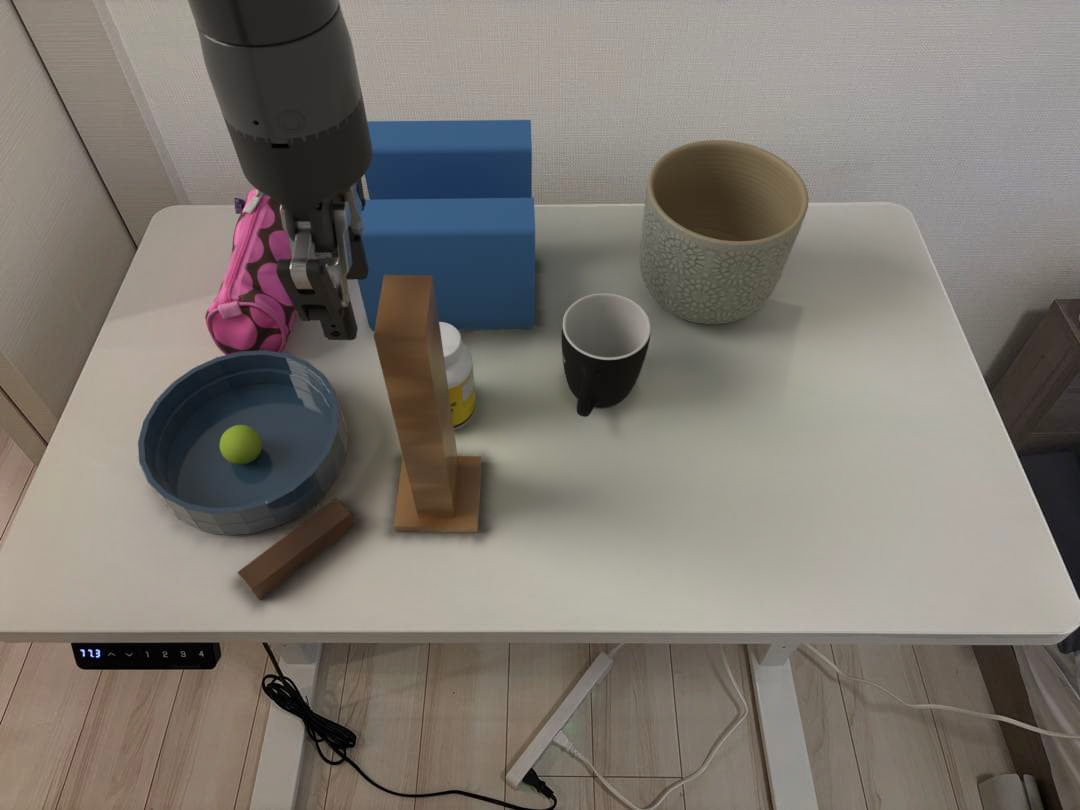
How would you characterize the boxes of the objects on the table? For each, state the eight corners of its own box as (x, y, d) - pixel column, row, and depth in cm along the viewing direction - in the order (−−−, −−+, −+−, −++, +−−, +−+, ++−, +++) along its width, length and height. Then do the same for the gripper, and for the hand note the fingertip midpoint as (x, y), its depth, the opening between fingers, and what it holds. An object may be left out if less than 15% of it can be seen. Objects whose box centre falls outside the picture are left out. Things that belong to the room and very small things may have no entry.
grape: (226, 461, 76) (221, 421, 77) (219, 471, 80) (213, 432, 80) (269, 457, 79) (263, 418, 79) (259, 466, 82) (254, 429, 83)
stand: (395, 531, 77) (339, 347, 54) (404, 461, 82) (355, 264, 59) (477, 532, 77) (456, 348, 54) (481, 462, 82) (463, 265, 59)
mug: (573, 345, 91) (577, 283, 83) (649, 366, 89) (661, 305, 81) (538, 427, 84) (539, 368, 76) (619, 451, 83) (629, 394, 74)
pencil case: (248, 236, 101) (223, 172, 93) (325, 235, 101) (306, 170, 93) (214, 369, 88) (182, 307, 80) (301, 367, 89) (278, 305, 80)
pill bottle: (403, 411, 85) (388, 342, 76) (445, 375, 88) (435, 304, 79) (447, 444, 83) (436, 377, 73) (488, 406, 86) (484, 336, 76)
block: (388, 242, 100) (364, 118, 86) (530, 240, 101) (530, 116, 86) (375, 353, 90) (345, 232, 75) (534, 350, 90) (535, 230, 76)
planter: (782, 345, 91) (822, 246, 79) (635, 341, 91) (652, 241, 79) (762, 243, 101) (794, 140, 89) (629, 240, 101) (643, 137, 89)
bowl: (235, 575, 74) (218, 552, 70) (120, 460, 81) (98, 433, 77) (386, 445, 83) (379, 418, 79) (270, 351, 90) (258, 322, 86)
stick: (351, 513, 75) (355, 525, 77) (335, 497, 76) (340, 509, 78) (251, 590, 71) (259, 600, 73) (236, 572, 72) (244, 582, 74)
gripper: (249, 19, 47) (312, 235, 61) (185, 176, 39) (275, 385, 52) (376, 21, 47) (410, 237, 61) (339, 178, 39) (389, 386, 53)
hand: (348, 304), depth 57 cm, fingers open, 5 cm apart
